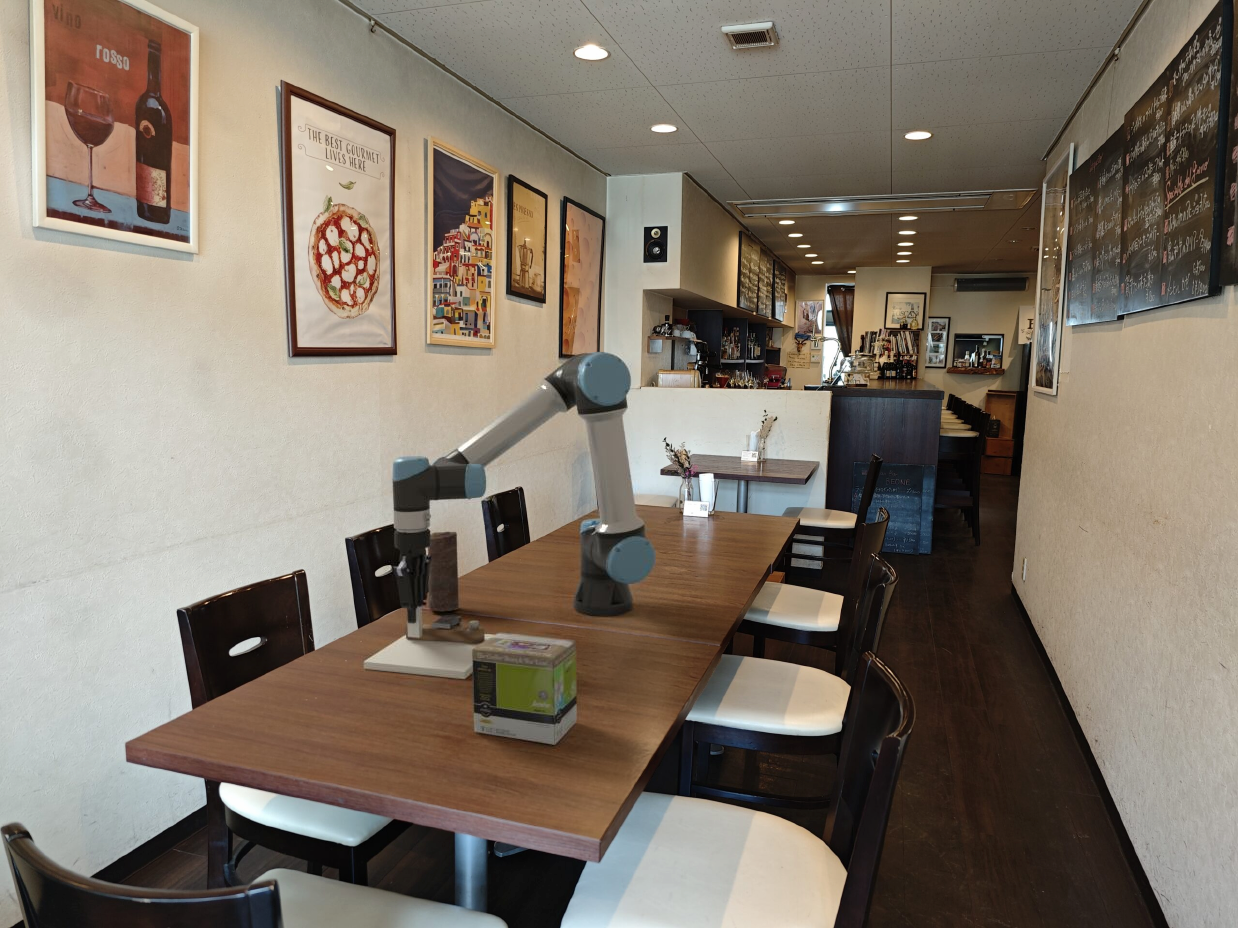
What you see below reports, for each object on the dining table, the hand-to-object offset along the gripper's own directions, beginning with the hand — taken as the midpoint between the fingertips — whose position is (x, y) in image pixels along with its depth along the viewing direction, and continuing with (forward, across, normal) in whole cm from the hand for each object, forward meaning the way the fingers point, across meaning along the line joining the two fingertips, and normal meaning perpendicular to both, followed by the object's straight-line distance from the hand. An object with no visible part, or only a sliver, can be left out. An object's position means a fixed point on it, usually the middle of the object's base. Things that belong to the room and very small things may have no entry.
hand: (415, 635), depth 173 cm
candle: (+3, +26, +6) cm, 27 cm away
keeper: (+1, +4, -6) cm, 7 cm away
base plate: (+3, -3, -7) cm, 8 cm away
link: (+1, +3, -6) cm, 7 cm away
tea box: (+3, -31, -37) cm, 48 cm away
